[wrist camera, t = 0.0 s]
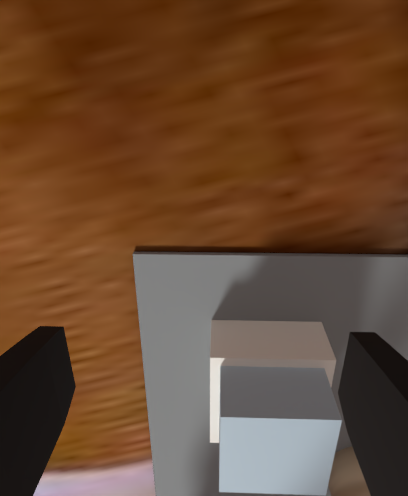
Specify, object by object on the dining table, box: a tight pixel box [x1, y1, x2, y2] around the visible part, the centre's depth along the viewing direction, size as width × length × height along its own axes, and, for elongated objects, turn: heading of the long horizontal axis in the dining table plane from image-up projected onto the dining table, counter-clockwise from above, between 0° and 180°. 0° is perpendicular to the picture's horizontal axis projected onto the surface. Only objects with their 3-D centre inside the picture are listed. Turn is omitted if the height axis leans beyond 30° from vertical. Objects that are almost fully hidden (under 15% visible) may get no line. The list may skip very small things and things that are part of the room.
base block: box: [210, 320, 336, 443], centre depth 21 cm, size 6×6×3 cm
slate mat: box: [133, 252, 408, 496], centre depth 24 cm, size 20×18×1 cm
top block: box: [219, 366, 342, 495], centre depth 19 cm, size 5×5×3 cm
